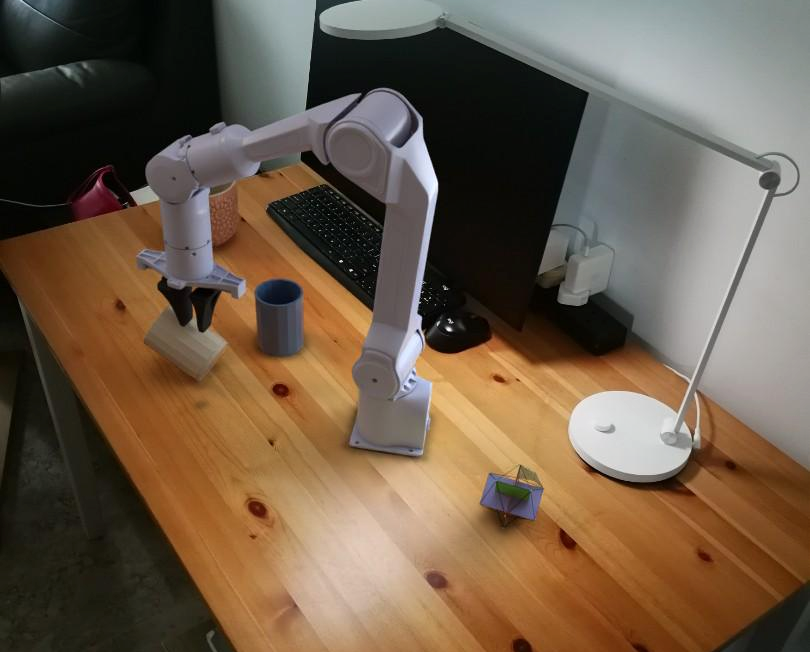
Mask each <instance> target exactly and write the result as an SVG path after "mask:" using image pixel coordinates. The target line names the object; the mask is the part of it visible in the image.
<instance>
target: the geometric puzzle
mask: <svg viewBox="0 0 810 652" xmlns="http://www.w3.org/2000/svg"><path fill="white" fill-rule="evenodd" d="M518 467H519V468H518ZM516 468H518V471H517V474H516V476H511V475H507V474H509V473H510V472H512V471H513V470H515V469H516ZM505 469H507V467H505V468H504V470H505ZM498 471H500V469H498V470H497V472H498ZM494 472H496V470H495V471H493V472H491V471H490V472H488V476H487V480H486V482H485V484H484V487H483V491H482V495H481V498H480V502H479V503H478V505H479V506H481V507H485V508H487V509H489V510H491V511H493V512H495V513H497V516H498V518H499V521H500V523H501V524H500V525H501V528H502V529H505V528H507V527H508V528H509V527H511V525H510V524H511V523H513V522H515V520H517V519H521V520H528V521H529V523H530V522H532V521H533V522H536V519H537V514H538V511H539V508H540V504H541V500H542V497H543V492H544V490H545V487H544V486H543V484H542V482H541V481H540V479H539V477H538V475H537V473H536V472H535V471H533V470H531V468H528V467H526V466H525V465H522V464H521V463H519V464H518V465H515V466H514V468H512V469H510V470H509V471H508V472H506V473H505V474H501V475H500V474H499V473H494ZM506 476H507V477H506ZM512 478H514V479H512ZM520 480H521V481H520ZM522 481H523V482H522ZM530 481H533V482H535V483H536V484H534V483H532V482H530ZM525 482H526V483H525ZM499 511H502V512H503V513H501V512H499ZM508 514H512V515H515V516H513V518H514V519H513V520H511V521H510V522H508V523H507V524H506V520H507V517H508V518H512V516H511V515H508ZM500 515H502V516H503V517H504V518H503V522H502V519H501V516H500ZM524 523H525V524H526V523H527V522H524ZM522 524H523V522H522V523H520V525H522ZM508 525H509V526H508ZM517 525H518V526H519V523H518V524H516V526H517ZM513 526H515V524H513V525H512V527H513Z"/></svg>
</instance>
